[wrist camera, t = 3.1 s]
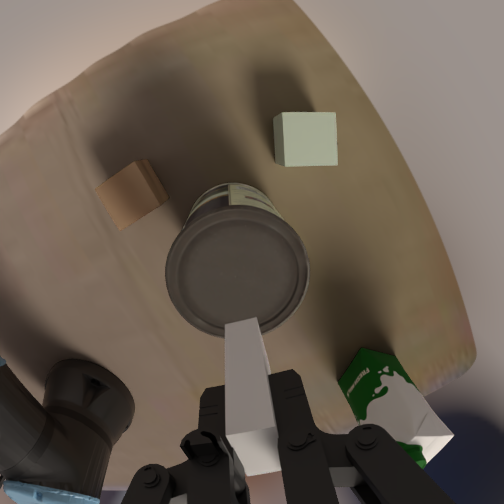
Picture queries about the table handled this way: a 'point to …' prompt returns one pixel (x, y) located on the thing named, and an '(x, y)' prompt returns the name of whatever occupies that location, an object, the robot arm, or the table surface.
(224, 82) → the table surface
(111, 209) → the brown wooden cube
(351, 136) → the table surface
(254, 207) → the coffee can
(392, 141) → the table surface
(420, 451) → the milk carton
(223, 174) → the table surface
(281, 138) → the sage block
